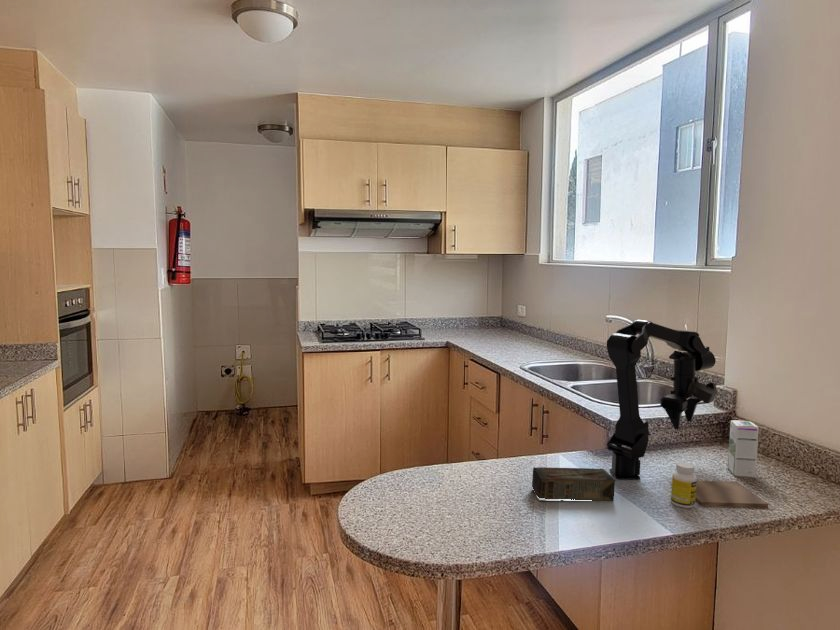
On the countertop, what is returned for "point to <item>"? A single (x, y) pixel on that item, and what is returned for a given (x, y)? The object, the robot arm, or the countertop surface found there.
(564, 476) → the beverage carton
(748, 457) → the syrup box
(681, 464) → the supplement bottle
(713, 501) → the walnut board
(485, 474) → the countertop surface
